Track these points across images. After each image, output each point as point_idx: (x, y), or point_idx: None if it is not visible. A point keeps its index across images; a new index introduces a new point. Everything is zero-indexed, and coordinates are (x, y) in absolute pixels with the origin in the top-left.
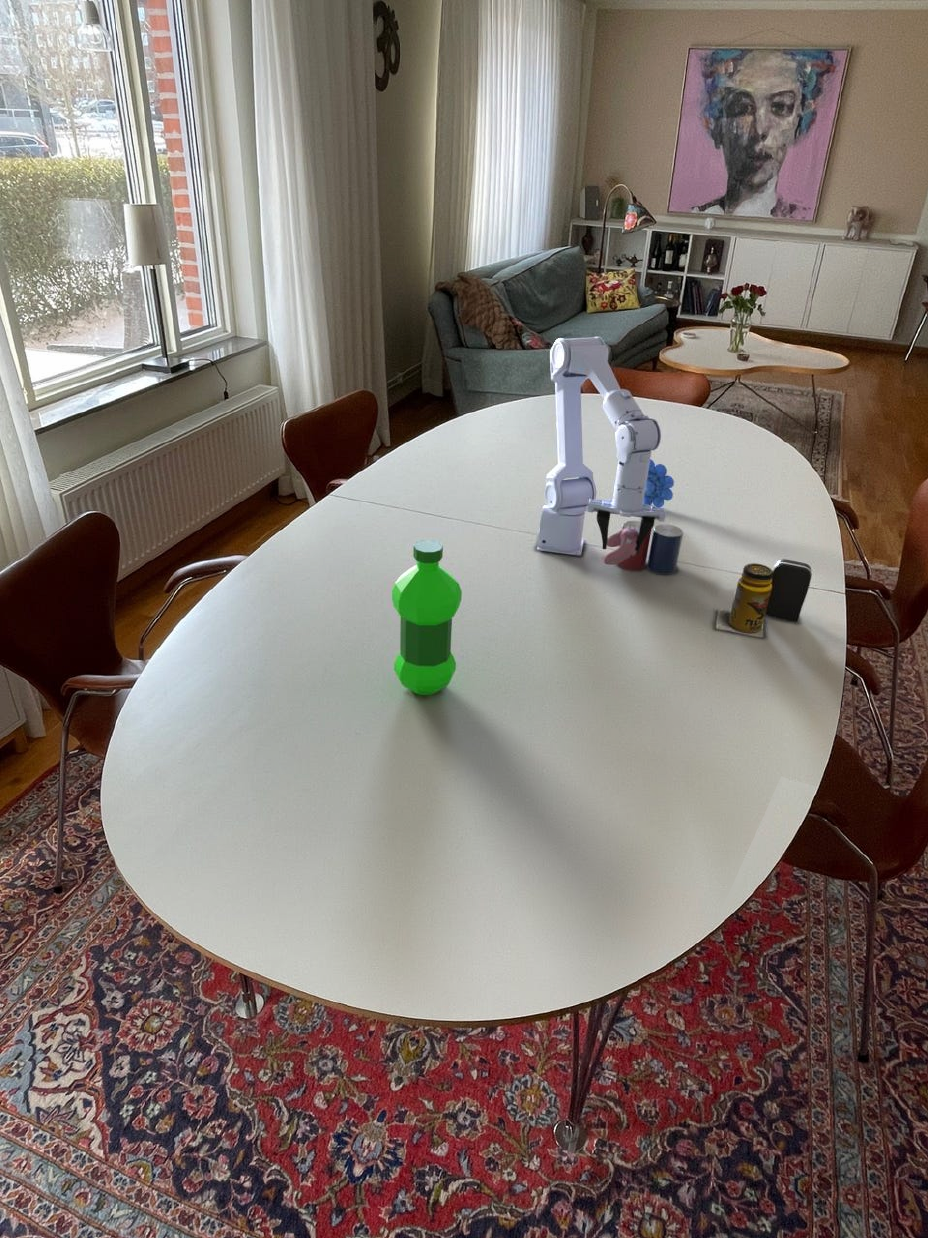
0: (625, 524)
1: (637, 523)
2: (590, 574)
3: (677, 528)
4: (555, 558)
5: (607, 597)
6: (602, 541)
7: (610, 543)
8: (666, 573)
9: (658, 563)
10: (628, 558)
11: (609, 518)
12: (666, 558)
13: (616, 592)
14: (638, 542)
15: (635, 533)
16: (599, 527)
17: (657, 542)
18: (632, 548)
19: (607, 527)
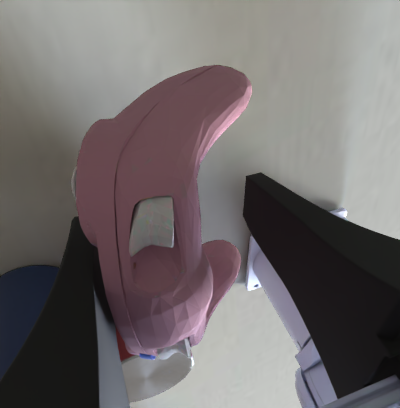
0: (185, 365)
1: (149, 388)
2: (218, 164)
3: None
4: (306, 196)
5: (139, 28)
6: (293, 192)
7: (220, 249)
8: (4, 275)
9: (34, 291)
10: None
11: (369, 334)
12: (8, 316)
13: (116, 87)
14: (83, 266)
15: (130, 321)
16: (390, 237)
17: None
18: (97, 169)
19: (349, 257)
